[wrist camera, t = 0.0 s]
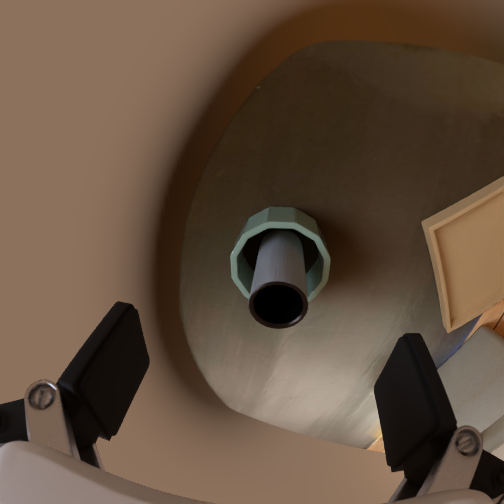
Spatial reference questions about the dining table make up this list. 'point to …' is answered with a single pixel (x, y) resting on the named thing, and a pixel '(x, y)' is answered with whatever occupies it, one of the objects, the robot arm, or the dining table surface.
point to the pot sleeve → (281, 219)
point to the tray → (468, 254)
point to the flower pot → (478, 385)
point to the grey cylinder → (279, 281)
